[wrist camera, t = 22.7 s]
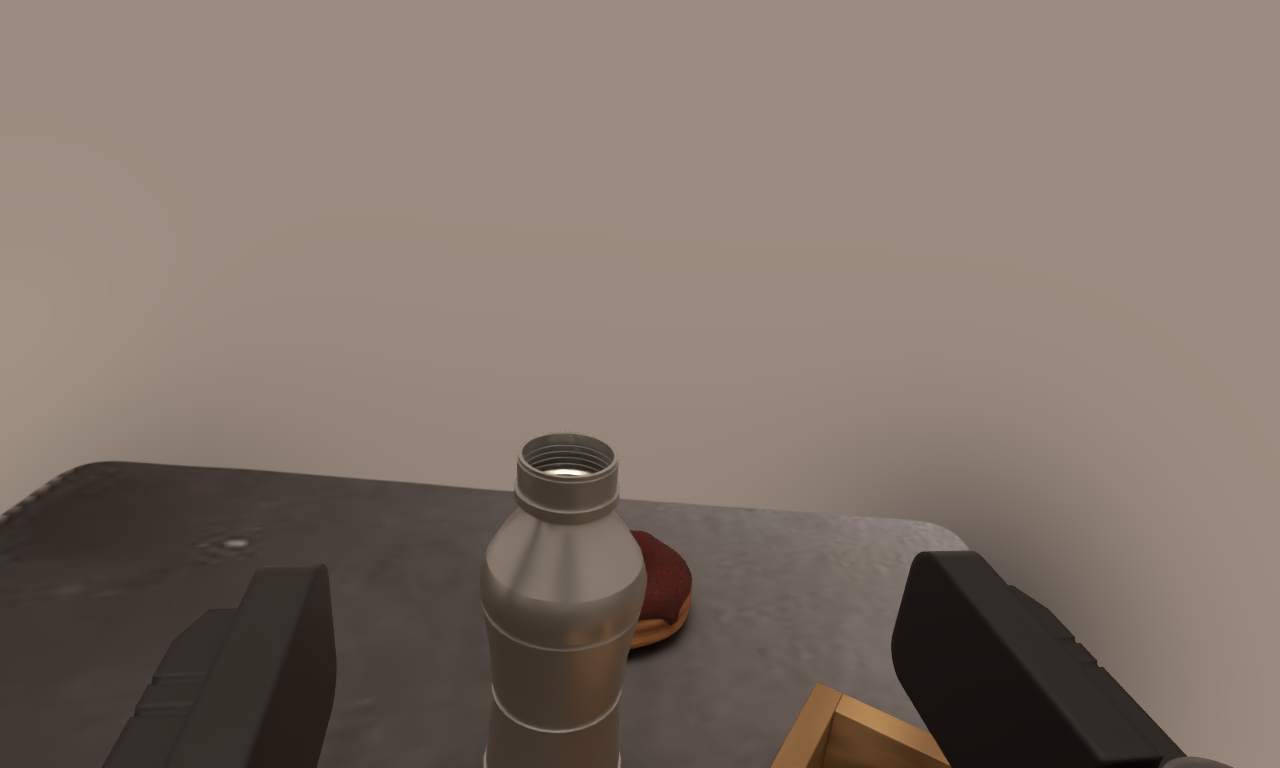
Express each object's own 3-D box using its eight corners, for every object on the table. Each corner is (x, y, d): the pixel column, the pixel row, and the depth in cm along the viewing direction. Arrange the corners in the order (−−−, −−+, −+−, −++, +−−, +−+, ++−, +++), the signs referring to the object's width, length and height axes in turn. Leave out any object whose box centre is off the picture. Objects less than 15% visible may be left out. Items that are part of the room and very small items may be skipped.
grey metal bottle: (500, 760, 39) (504, 405, 32) (631, 784, 39) (668, 427, 31) (455, 882, 34) (446, 484, 26) (608, 913, 33) (647, 513, 25)
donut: (582, 547, 57) (585, 500, 55) (709, 587, 54) (716, 538, 52) (510, 631, 48) (511, 578, 47) (657, 684, 45) (663, 630, 43)
